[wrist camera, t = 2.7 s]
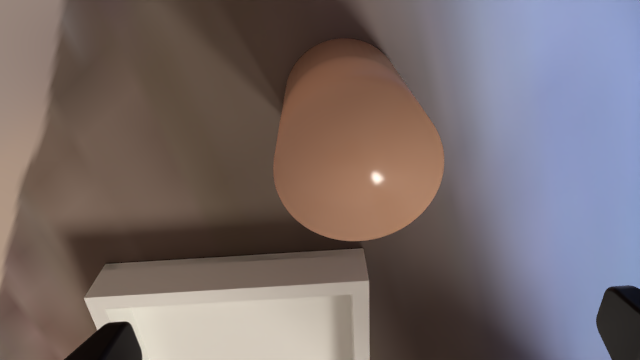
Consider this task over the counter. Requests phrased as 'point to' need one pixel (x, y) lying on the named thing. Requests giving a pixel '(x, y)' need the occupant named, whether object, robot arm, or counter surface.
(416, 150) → the peach rounded cylinder
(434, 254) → the counter surface
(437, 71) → the counter surface
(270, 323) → the tray
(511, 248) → the counter surface
